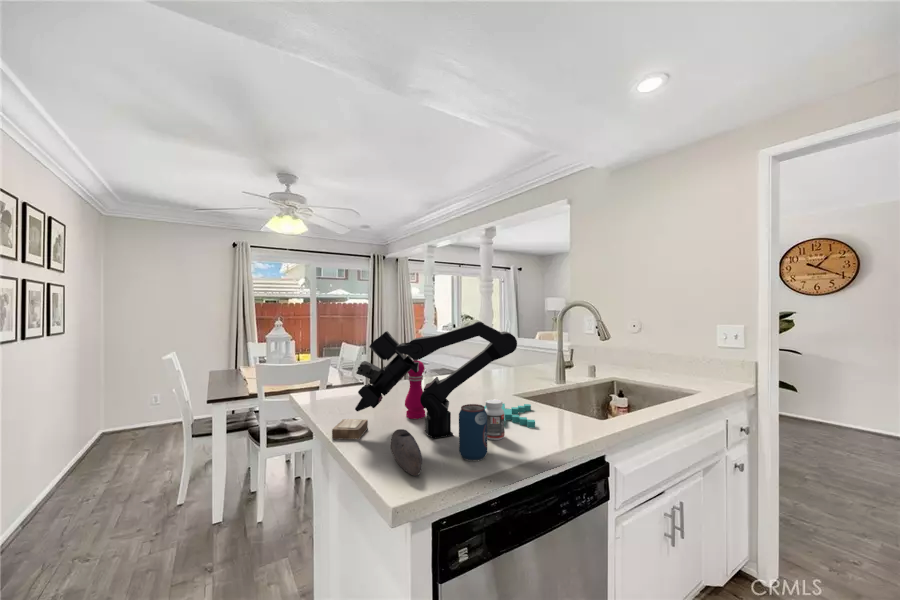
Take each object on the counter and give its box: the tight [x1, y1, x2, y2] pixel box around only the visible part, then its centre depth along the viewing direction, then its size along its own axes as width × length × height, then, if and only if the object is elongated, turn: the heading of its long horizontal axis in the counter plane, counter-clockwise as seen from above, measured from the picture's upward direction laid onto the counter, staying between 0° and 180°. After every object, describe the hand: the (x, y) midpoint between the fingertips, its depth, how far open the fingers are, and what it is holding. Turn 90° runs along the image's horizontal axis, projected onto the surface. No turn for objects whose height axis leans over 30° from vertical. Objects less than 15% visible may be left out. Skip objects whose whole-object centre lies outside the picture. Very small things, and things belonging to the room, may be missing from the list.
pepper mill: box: [404, 359, 426, 420], centre depth 126 cm, size 7×7×20 cm
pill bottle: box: [485, 398, 506, 441], centre depth 106 cm, size 6×6×10 cm
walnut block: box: [331, 418, 369, 440], centre depth 110 cm, size 3×9×8 cm
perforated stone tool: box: [390, 428, 423, 477], centre depth 87 cm, size 15×5×7 cm, turn 22°
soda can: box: [458, 403, 488, 462], centre depth 93 cm, size 7×7×12 cm
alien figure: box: [483, 402, 536, 429], centre depth 125 cm, size 20×2×20 cm
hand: (356, 410), depth 110 cm, fingers closed
